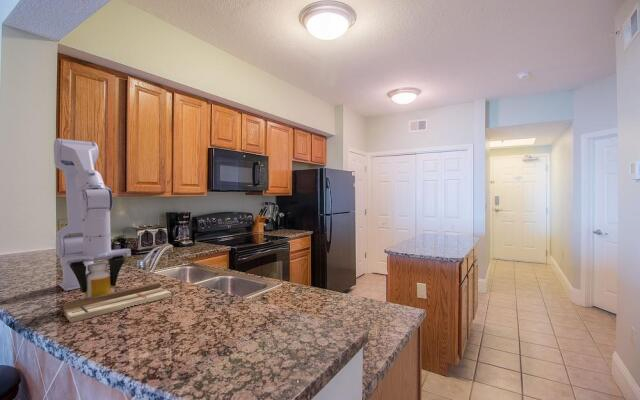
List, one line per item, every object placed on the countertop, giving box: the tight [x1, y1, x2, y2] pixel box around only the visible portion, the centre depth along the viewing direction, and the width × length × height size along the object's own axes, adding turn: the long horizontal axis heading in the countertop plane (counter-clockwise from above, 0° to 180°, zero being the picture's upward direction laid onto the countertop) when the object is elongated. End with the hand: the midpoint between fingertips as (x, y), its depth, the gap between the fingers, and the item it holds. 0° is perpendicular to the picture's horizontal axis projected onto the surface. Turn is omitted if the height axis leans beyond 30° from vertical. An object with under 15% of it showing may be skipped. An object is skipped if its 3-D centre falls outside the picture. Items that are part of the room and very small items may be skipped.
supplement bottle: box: [84, 262, 112, 299], centre depth 78 cm, size 5×5×10 cm
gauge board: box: [62, 281, 172, 323], centre depth 76 cm, size 8×21×2 cm, turn 140°
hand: (98, 288), depth 78 cm, fingers open, 6 cm apart
